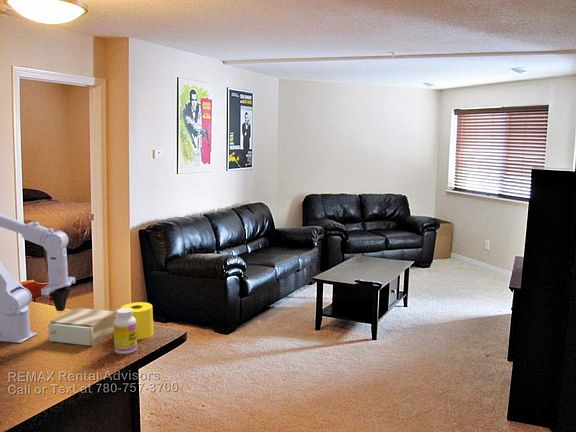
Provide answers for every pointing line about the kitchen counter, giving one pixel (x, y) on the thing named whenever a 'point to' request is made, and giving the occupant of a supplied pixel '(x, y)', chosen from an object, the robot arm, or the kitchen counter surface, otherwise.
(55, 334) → the door
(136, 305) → the yellow toilet paper roll
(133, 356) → the kitchen counter surface
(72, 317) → the cabinet
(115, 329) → the supplement bottle
